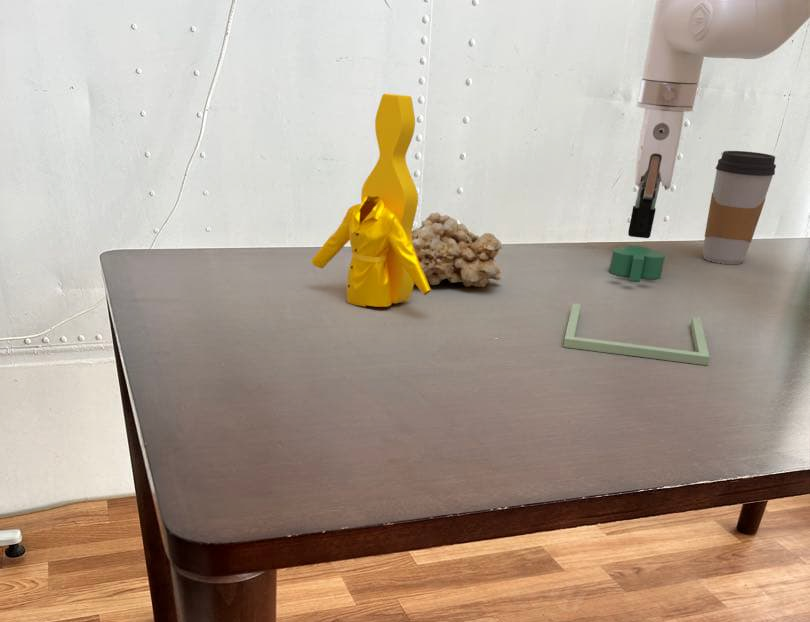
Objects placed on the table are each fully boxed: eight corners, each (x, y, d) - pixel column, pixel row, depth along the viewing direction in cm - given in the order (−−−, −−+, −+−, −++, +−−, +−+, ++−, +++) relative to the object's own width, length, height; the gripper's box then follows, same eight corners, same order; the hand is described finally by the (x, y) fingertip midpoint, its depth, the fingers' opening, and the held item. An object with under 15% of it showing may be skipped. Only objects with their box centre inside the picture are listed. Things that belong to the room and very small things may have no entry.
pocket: (571, 311, 99) (572, 303, 99) (698, 326, 97) (700, 318, 96) (563, 347, 88) (564, 338, 87) (707, 365, 85) (709, 356, 85)
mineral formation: (397, 291, 102) (395, 254, 114) (499, 312, 104) (487, 274, 116) (412, 226, 98) (408, 195, 110) (518, 250, 100) (503, 217, 112)
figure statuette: (300, 292, 100) (297, 87, 88) (343, 280, 105) (345, 86, 94) (417, 325, 91) (430, 103, 80) (456, 311, 97) (474, 101, 85)
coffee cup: (749, 269, 123) (779, 160, 115) (692, 261, 125) (718, 154, 117) (750, 257, 129) (779, 154, 121) (696, 250, 132) (720, 148, 124)
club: (660, 284, 113) (665, 261, 111) (608, 278, 114) (612, 255, 112) (659, 269, 119) (664, 248, 118) (609, 264, 121) (613, 243, 119)
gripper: (698, 102, 105) (665, 250, 115) (691, 95, 117) (663, 229, 127) (638, 98, 106) (611, 244, 116) (638, 91, 119) (614, 224, 128)
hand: (638, 236), depth 122 cm, fingers closed
